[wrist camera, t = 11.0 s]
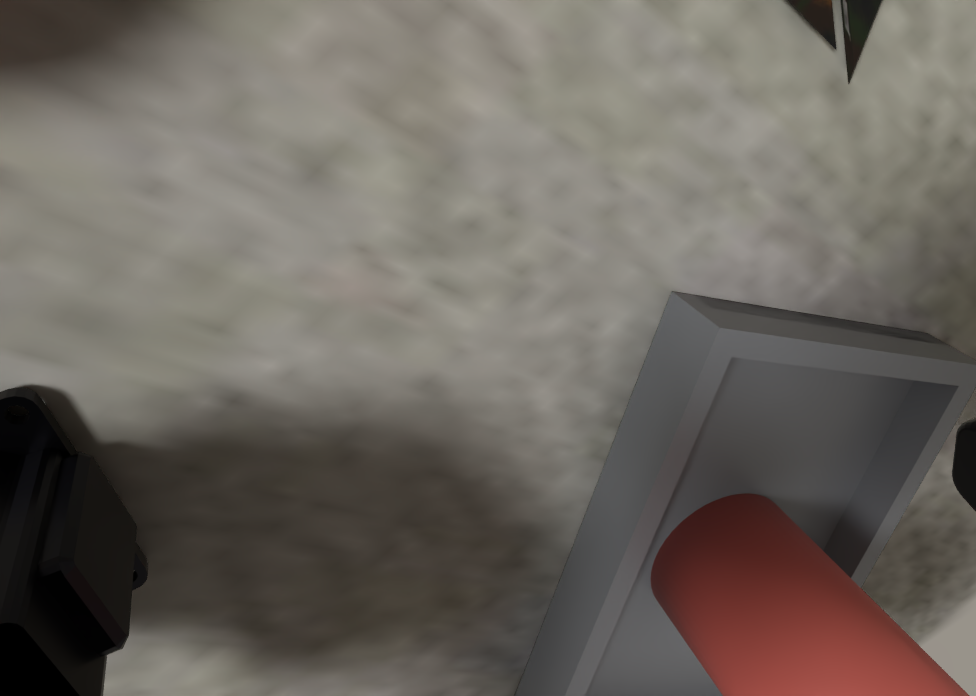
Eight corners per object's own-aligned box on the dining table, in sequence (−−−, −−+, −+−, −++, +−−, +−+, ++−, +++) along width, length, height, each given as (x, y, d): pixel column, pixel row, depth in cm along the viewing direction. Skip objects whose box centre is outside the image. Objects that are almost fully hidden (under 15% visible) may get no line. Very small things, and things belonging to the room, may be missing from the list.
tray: (503, 725, 30) (527, 785, 28) (671, 291, 23) (719, 327, 21) (730, 703, 35) (766, 753, 33) (927, 333, 28) (987, 366, 26)
